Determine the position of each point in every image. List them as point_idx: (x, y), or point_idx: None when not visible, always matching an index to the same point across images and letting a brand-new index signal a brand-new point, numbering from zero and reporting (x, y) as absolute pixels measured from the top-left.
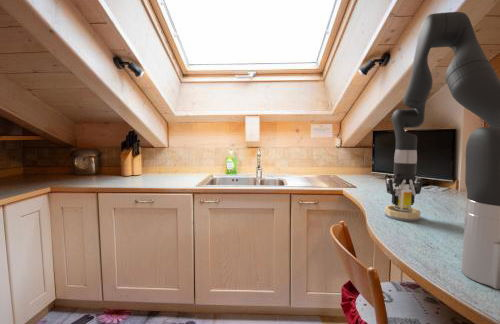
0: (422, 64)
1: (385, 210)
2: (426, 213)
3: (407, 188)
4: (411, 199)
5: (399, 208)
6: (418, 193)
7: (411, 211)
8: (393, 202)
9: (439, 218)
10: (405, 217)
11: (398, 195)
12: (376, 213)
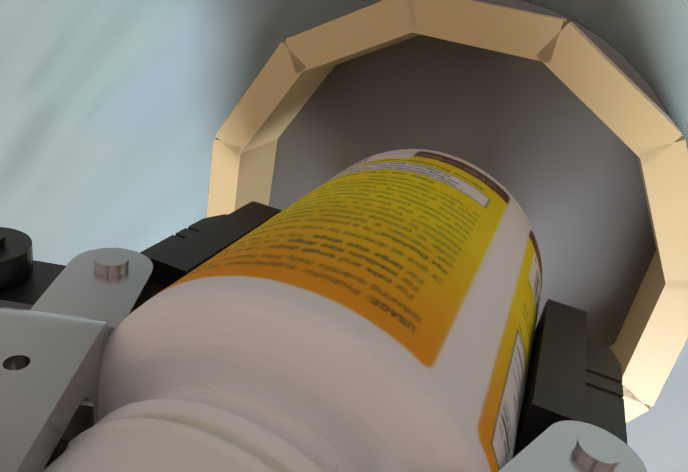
0: None
1: None
2: (82, 204)
3: (217, 410)
4: None
5: (534, 245)
6: (14, 237)
7: None
8: (613, 375)
9: (79, 12)
10: (601, 50)
11: (517, 416)
12: (658, 464)
